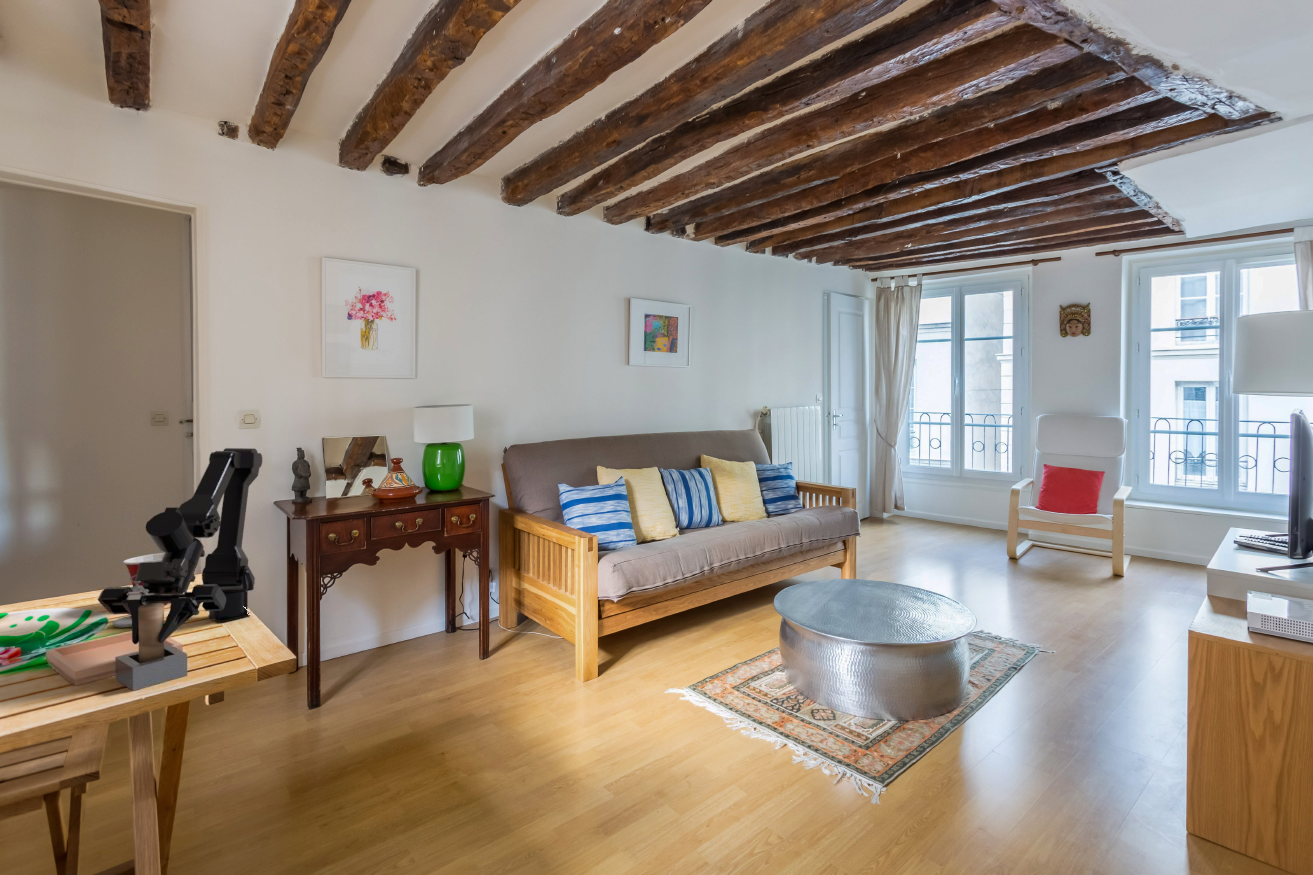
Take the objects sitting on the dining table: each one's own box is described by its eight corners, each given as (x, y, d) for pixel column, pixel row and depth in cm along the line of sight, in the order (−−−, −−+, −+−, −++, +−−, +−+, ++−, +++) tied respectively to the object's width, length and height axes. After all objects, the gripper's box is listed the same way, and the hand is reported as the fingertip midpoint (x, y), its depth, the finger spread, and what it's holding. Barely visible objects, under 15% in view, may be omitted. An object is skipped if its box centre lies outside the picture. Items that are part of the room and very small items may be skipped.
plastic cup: (153, 596, 160) (153, 549, 160) (191, 599, 159) (191, 552, 158) (111, 610, 150) (110, 559, 149) (151, 613, 148) (151, 562, 148)
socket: (168, 664, 121) (168, 643, 121) (187, 675, 116) (187, 653, 116) (115, 678, 114) (115, 656, 114) (133, 690, 110) (132, 668, 110)
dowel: (159, 671, 118) (159, 601, 117) (167, 676, 116) (167, 605, 115) (135, 677, 115) (135, 606, 114) (143, 683, 113) (143, 610, 112)
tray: (149, 638, 133) (149, 626, 133) (182, 657, 124) (182, 644, 124) (46, 663, 120) (45, 649, 120) (75, 685, 111) (74, 671, 111)
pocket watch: (119, 631, 137) (119, 585, 136) (104, 623, 141) (103, 578, 141) (164, 621, 144) (164, 577, 143) (148, 613, 148) (148, 571, 148)
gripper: (103, 543, 116) (62, 624, 106) (219, 541, 120) (191, 619, 110) (129, 575, 124) (93, 652, 114) (237, 572, 128) (212, 647, 118)
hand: (147, 642), depth 114 cm, fingers closed on dowel, 4 cm apart
